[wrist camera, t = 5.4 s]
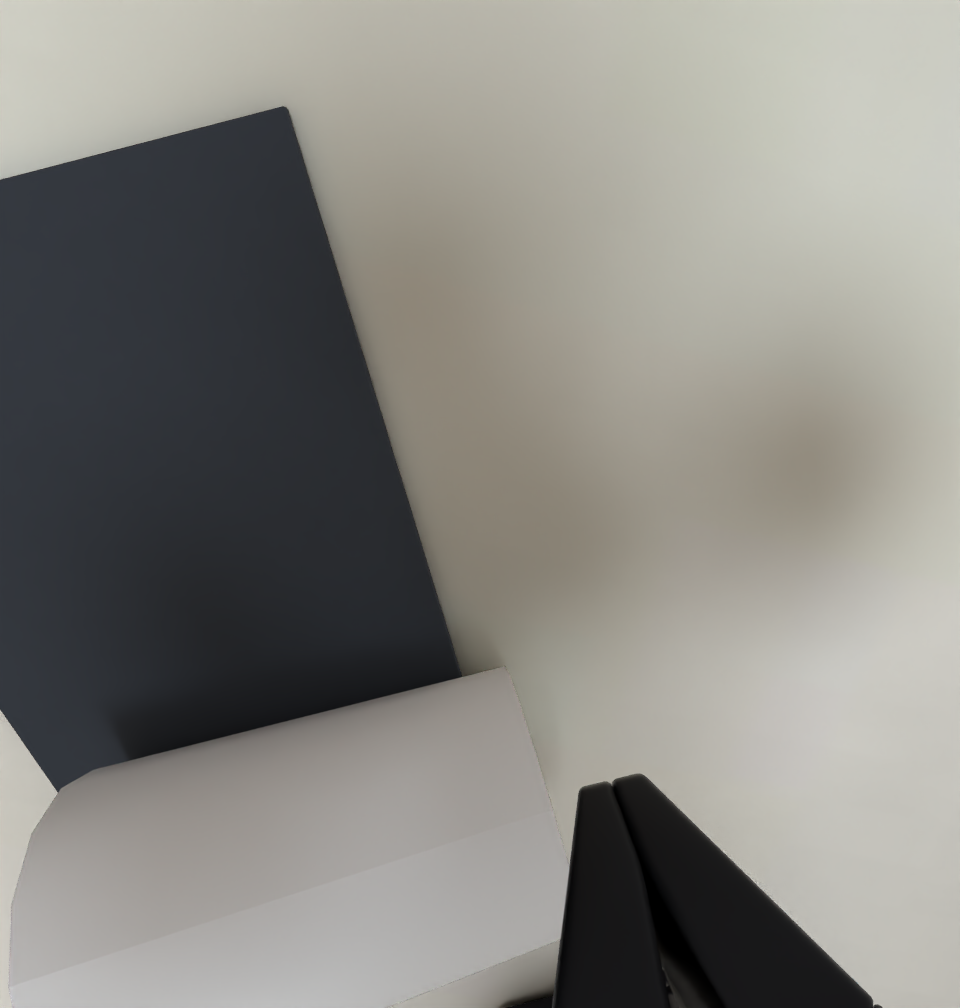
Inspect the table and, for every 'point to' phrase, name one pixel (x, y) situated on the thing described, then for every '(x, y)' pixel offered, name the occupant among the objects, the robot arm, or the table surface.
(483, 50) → the table surface
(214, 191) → the rubber mat
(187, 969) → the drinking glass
